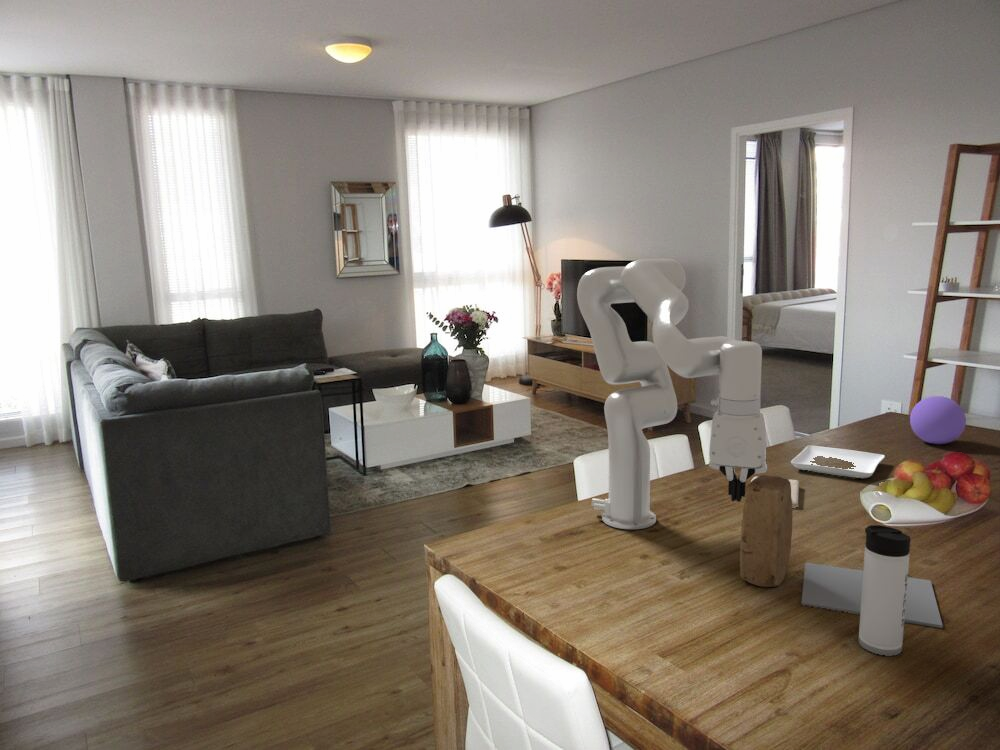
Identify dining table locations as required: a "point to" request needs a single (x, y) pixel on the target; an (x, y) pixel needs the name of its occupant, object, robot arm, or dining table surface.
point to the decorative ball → (937, 420)
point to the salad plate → (861, 460)
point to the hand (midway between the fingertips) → (736, 499)
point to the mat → (845, 593)
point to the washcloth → (792, 491)
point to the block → (766, 531)
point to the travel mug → (884, 590)
